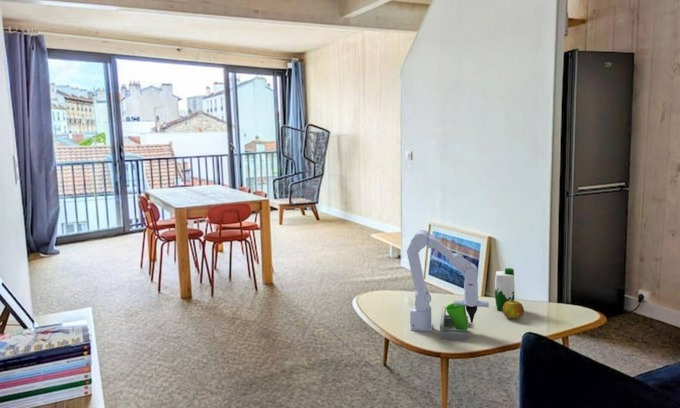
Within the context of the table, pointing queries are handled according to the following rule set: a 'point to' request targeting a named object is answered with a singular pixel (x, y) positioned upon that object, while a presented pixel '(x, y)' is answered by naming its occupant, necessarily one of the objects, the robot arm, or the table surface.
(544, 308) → the table surface
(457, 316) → the cup
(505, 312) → the fruit
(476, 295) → the robot arm
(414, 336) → the table surface
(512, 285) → the milk carton
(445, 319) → the rack
